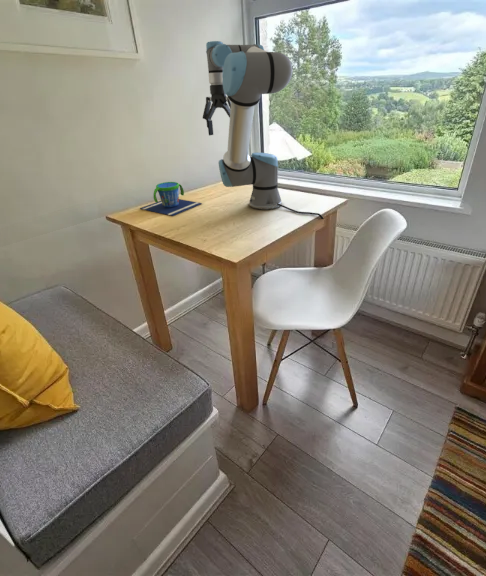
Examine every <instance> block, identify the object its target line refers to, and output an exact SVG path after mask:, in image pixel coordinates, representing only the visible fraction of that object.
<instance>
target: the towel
mask: <svg viewBox="0 0 486 576" xmlns="http://www.w3.org/2000/svg"><path fill="white" fill-rule="evenodd" d="M202 204H203V203H202V202H197V201H192V200H186V199H182V198H181V199H180V198H179V204H178V206H175V207H170V208H169V207H164V206H163V204H162V201H161V200H159V201H158V203H156V202H154V203H150V204H148V205H146V206H143V207H140V208H139V209H140V210H143V211H147V212H151V213H156V214H160V215H166V216H169V217H175V216H177V215H179V214H181V213H184V212H186V211H189V210H191V209H193V208H196V207H199V206H200V205H201V206H202Z"/></svg>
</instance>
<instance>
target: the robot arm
mask: <svg viewBox="0 0 486 576" xmlns="http://www.w3.org/2000/svg"><path fill="white" fill-rule="evenodd" d="M205 47H206V49H205V50H206V51H205V53H206V59H207V69H208V82H209V84H210V85H209V94H210V95H211V96H206V97H205V105H204V109H203V113H202V119H203V120H205V121H206V127H207V132H208V136H214V127H213V120H212V118H213V115H214V113H215V112H216V109H221V108H222V109H223V110H224V111H225V113H226V115H227V116H228V118H229V125H228V136H227V137H228V139H227V150H226V151H225V153H224V154H223V159H219V160H218V169H219V175H220V179H221V182H222V184H223V186H224V187H226V188H234V187H243V186H244V187H245V186H251V185H252V190H251V194H250V198H249V207H250V208H252V209H254V210H261V211H267V210H269V211H270V210H275V209H278V208H280V207H281V208H284V209H285V210H288V211H290V212H294V213H297V214H302V215H313V216H318V217H320V219H321V220H324V217H323V215H322V214H321V213H318V212H311V211H299V210H295V209H292V208H290V207H288V206H285V205H283V204H282V198H281V195H280V192H279V188H278V187H279V186H278V185H279V184H278V183H279V162H278V160H279V159H278V156H276V155H275V154H272V153H268V152H267V153H266V152H251V156H250V155H249V152H250V151H249V149H250V142H251V135H252V128H253V121H254V114H255V107H256V106H258V104H260V102H261V96H262V95H270V94H271V95H272V94H275V93H276V94H277V93H279V92H281V91H283V90H284V89H285V88H286V87H287V86H288V84H289V83H290V81H291V79H292V77H293V64H292V62H291V59H290V58H289V56H287V55H286V54H284V53H281V52H277V51H267V50H265V48H264V46H263V45H262V44H257V43H253V44H227V43H224V42H222V41H220V40H210V41H207V42H206V44H205Z"/></svg>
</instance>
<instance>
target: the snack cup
mask: <svg viewBox="0 0 486 576" xmlns="http://www.w3.org/2000/svg"><path fill="white" fill-rule="evenodd" d="M179 190H180V191H179ZM157 193H158V195H159V198H160V201H162V204H163V206H164V207H169V208H170V207H175V206H178V204H179V199H180V197H179V196H180V195H181V196H184V195H185V191H184V188H183V186H182V185H181V183H179V182H176V181H165V182H161V183H158V184H157V185H155V189H154V190H153V200H154V203H158V202H159V201H158V198H157ZM179 193H180V194H179Z"/></svg>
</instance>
